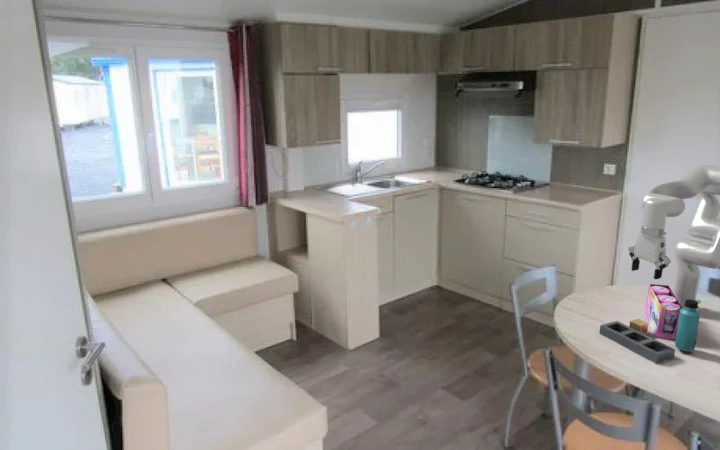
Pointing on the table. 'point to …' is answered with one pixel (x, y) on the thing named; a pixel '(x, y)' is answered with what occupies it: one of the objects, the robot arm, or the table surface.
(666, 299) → the gum box
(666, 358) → the frame with square openings
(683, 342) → the beverage bottle
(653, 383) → the table surface
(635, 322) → the tan wooden cube
